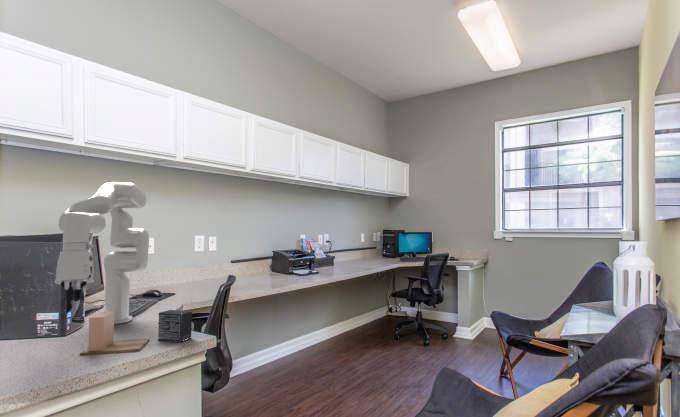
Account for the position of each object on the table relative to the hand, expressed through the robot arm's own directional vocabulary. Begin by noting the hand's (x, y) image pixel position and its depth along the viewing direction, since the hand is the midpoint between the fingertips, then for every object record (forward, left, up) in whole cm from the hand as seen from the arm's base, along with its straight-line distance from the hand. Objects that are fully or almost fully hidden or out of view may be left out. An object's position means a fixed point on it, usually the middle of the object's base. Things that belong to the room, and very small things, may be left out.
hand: (73, 300), depth 127 cm
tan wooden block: (0, +9, -16) cm, 19 cm away
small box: (-6, +32, -17) cm, 37 cm away
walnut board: (0, +14, -17) cm, 22 cm away
